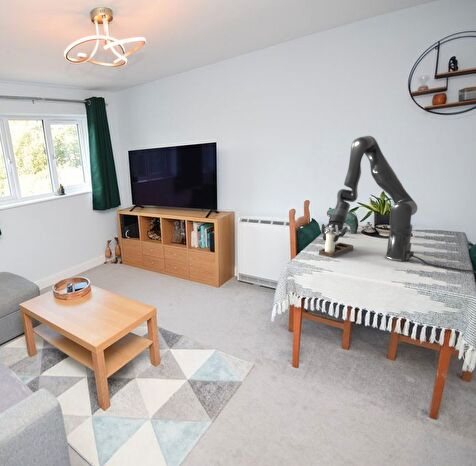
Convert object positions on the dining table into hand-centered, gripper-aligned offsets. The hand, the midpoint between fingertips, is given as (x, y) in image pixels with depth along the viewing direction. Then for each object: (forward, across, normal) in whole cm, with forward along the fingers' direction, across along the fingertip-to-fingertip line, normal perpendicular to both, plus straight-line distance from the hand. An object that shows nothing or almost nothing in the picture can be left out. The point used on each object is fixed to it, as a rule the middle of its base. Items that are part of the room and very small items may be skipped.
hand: (329, 240), depth 186 cm
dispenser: (+4, 0, +7) cm, 8 cm away
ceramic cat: (-34, -11, +48) cm, 60 cm away
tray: (+1, +1, +13) cm, 13 cm away
